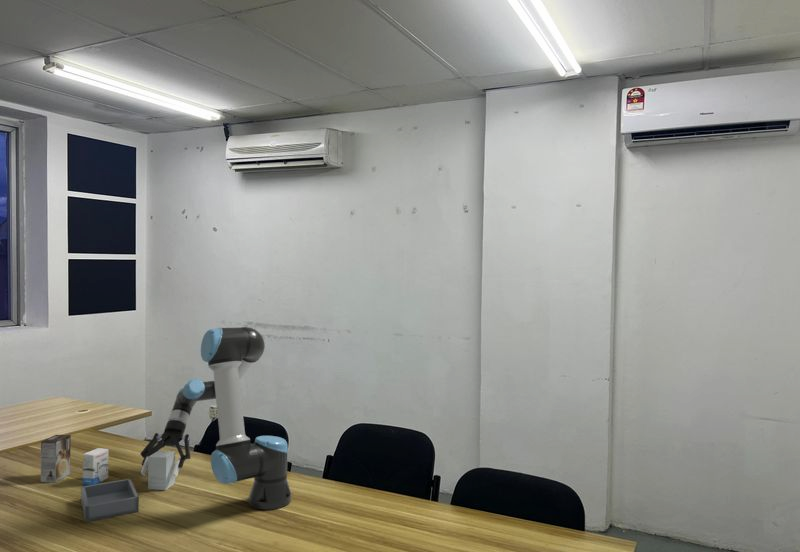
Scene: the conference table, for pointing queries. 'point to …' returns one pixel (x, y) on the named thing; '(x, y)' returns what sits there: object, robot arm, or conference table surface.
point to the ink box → (95, 466)
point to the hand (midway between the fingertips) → (158, 474)
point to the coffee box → (55, 458)
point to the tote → (109, 500)
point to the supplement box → (161, 470)
